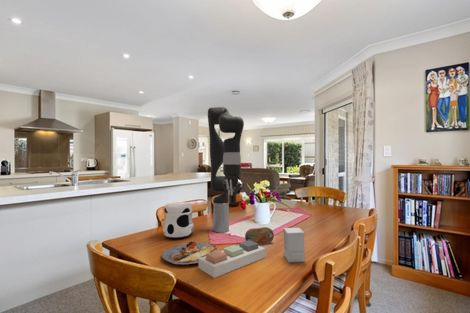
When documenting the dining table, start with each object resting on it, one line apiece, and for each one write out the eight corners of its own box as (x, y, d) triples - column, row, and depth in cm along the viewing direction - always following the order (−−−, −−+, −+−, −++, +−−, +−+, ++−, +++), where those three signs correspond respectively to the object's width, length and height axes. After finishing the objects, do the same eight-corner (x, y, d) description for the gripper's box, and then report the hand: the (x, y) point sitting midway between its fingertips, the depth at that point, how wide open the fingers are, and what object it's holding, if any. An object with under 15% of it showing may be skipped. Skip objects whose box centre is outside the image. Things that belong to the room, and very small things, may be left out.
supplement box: (300, 255, 113) (299, 227, 113) (305, 262, 106) (304, 232, 106) (283, 255, 113) (283, 227, 113) (287, 262, 106) (287, 232, 106)
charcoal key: (239, 249, 113) (239, 243, 113) (249, 246, 117) (248, 240, 117) (248, 253, 108) (248, 246, 108) (258, 250, 112) (258, 243, 112)
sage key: (223, 255, 107) (223, 248, 107) (234, 251, 111) (234, 244, 111) (232, 259, 102) (232, 252, 102) (243, 255, 106) (243, 248, 106)
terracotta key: (206, 261, 101) (205, 253, 101) (218, 257, 105) (217, 250, 105) (214, 266, 96) (214, 258, 96) (226, 261, 100) (226, 254, 100)
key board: (198, 268, 102) (198, 258, 102) (248, 250, 120) (248, 242, 120) (214, 277, 93) (214, 267, 93) (265, 257, 111) (265, 248, 111)
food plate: (194, 242, 132) (194, 235, 132) (227, 253, 117) (227, 245, 117) (152, 259, 113) (151, 251, 112) (185, 274, 98) (185, 266, 98)
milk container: (160, 234, 148) (159, 203, 148) (189, 229, 155) (188, 200, 155) (166, 243, 132) (166, 209, 132) (198, 237, 140) (197, 205, 140)
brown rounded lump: (246, 246, 125) (246, 230, 125) (244, 244, 128) (244, 228, 128) (274, 243, 129) (273, 227, 129) (271, 241, 132) (271, 225, 132)
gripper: (215, 163, 109) (216, 203, 109) (235, 163, 99) (236, 207, 99) (229, 162, 114) (229, 200, 114) (249, 163, 104) (249, 204, 104)
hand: (232, 203), depth 106 cm, fingers closed
